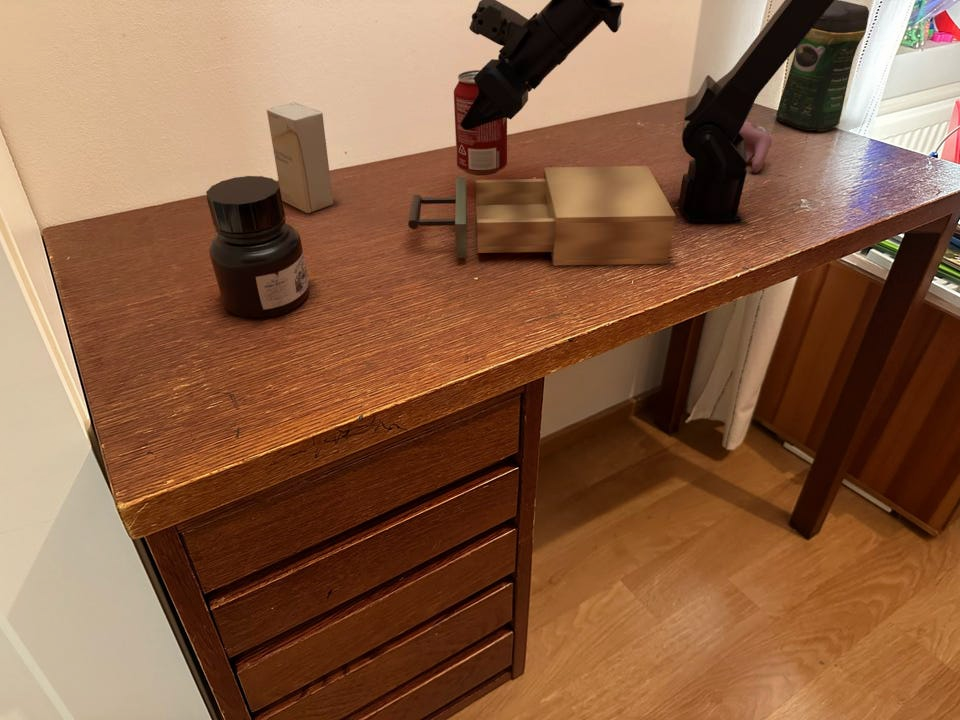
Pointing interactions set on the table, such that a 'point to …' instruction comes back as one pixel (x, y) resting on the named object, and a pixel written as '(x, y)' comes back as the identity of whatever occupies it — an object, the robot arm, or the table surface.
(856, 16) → the coffee jar
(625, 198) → the drawer unit
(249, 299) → the ink bottle
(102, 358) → the table surface
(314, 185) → the cosmetic box
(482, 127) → the soda can
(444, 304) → the table surface
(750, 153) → the video game controller
